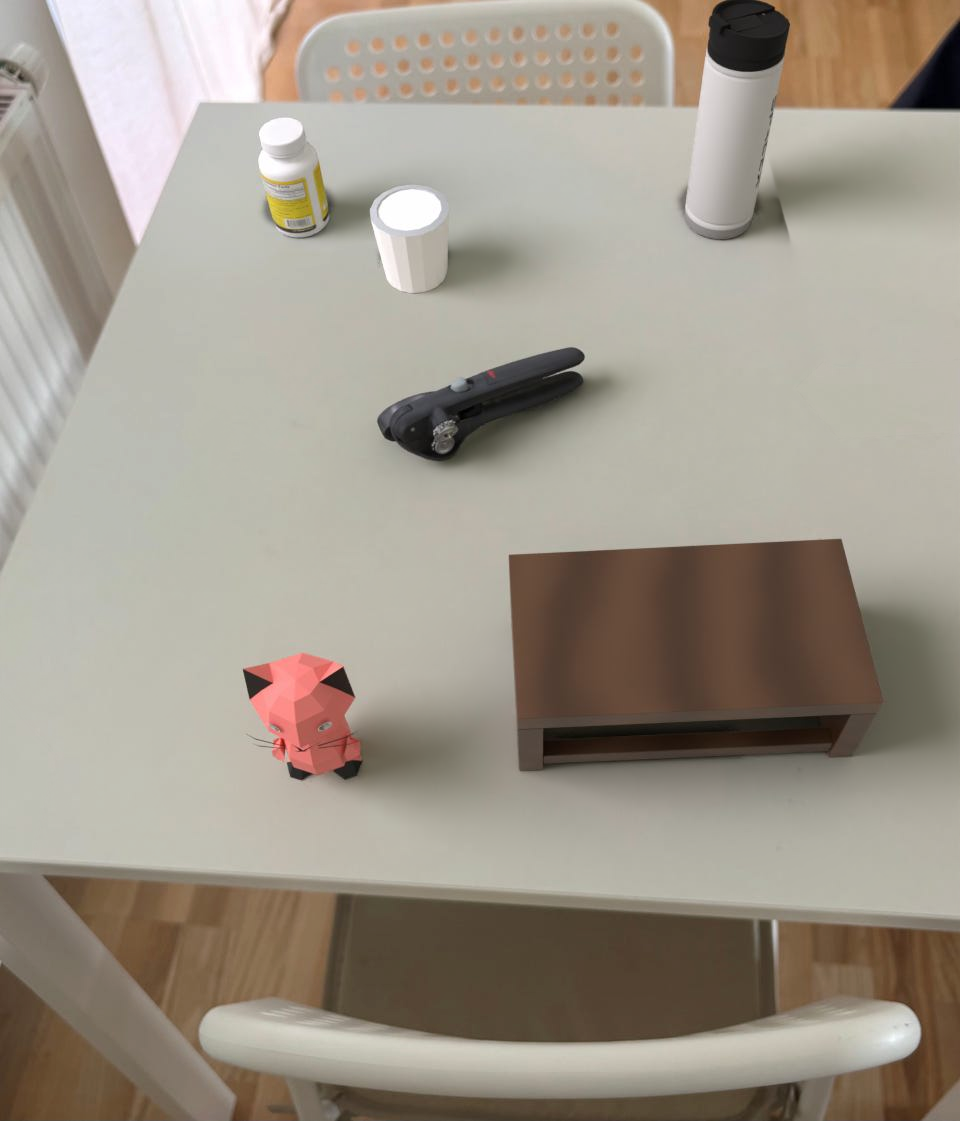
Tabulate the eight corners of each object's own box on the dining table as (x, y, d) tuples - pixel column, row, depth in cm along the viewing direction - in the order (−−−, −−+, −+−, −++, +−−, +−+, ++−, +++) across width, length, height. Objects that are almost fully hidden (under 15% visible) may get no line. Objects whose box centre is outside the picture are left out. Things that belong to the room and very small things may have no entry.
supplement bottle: (304, 194, 107) (285, 104, 99) (341, 218, 105) (325, 128, 97) (262, 222, 105) (238, 132, 97) (298, 247, 103) (278, 157, 95)
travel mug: (668, 209, 104) (693, 2, 87) (729, 189, 105) (765, -20, 88) (701, 249, 100) (734, 42, 84) (764, 228, 102) (808, 19, 85)
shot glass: (411, 309, 98) (403, 246, 92) (363, 271, 101) (353, 208, 95) (469, 272, 100) (465, 209, 94) (421, 236, 103) (414, 172, 97)
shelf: (816, 601, 79) (841, 538, 73) (852, 756, 73) (883, 702, 66) (511, 616, 80) (508, 554, 73) (519, 771, 73) (516, 718, 66)
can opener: (406, 487, 87) (398, 441, 82) (372, 427, 90) (364, 379, 86) (604, 409, 90) (608, 360, 86) (565, 354, 94) (566, 305, 89)
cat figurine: (268, 801, 73) (225, 722, 63) (278, 707, 76) (239, 619, 66) (374, 799, 72) (349, 719, 62) (379, 705, 76) (356, 616, 66)
